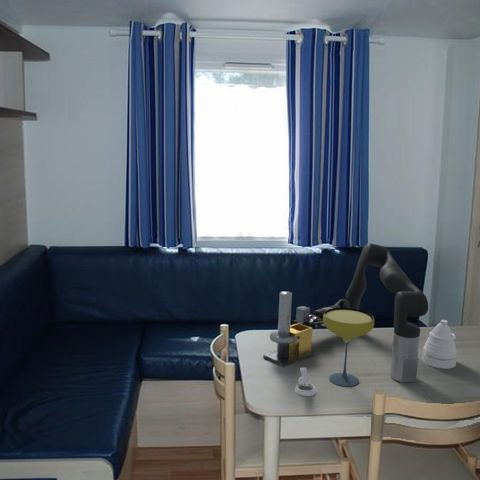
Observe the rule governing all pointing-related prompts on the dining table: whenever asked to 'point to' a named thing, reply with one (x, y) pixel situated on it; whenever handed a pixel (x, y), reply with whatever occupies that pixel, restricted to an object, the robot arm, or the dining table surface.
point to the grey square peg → (302, 314)
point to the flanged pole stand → (289, 336)
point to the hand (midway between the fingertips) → (298, 324)
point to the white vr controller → (305, 384)
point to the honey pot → (440, 347)
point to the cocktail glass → (347, 334)
